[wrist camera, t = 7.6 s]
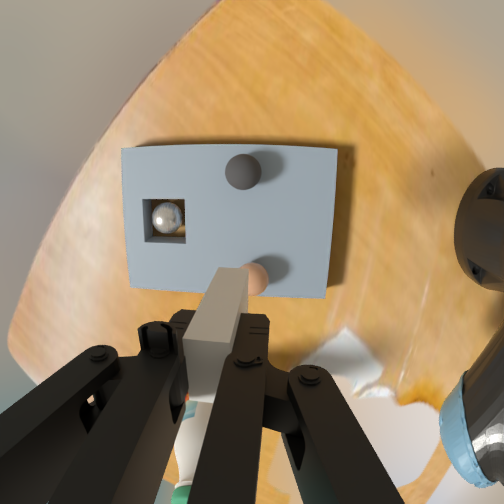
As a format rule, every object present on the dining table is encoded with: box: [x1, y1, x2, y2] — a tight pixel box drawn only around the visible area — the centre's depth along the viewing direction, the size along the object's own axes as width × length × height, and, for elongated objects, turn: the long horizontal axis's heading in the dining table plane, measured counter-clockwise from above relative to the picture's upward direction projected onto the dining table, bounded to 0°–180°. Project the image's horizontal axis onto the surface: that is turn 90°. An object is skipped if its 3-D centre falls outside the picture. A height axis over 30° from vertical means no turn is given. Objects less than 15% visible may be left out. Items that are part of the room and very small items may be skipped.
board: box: [121, 144, 338, 299], centre depth 32 cm, size 21×15×2 cm
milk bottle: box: [171, 393, 213, 504], centre depth 30 cm, size 8×8×20 cm
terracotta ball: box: [240, 262, 269, 296], centre depth 30 cm, size 3×3×3 cm
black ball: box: [225, 154, 262, 190], centre depth 27 cm, size 3×3×3 cm
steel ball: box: [152, 202, 183, 234], centre depth 32 cm, size 3×3×3 cm
